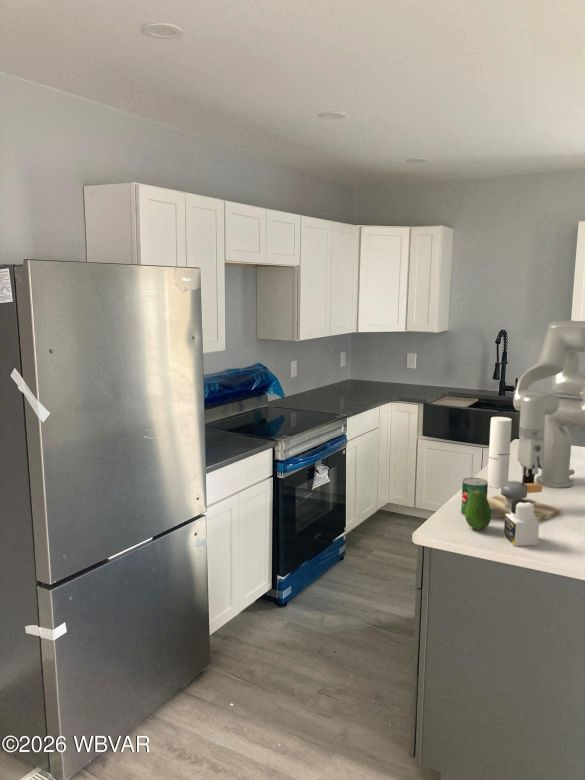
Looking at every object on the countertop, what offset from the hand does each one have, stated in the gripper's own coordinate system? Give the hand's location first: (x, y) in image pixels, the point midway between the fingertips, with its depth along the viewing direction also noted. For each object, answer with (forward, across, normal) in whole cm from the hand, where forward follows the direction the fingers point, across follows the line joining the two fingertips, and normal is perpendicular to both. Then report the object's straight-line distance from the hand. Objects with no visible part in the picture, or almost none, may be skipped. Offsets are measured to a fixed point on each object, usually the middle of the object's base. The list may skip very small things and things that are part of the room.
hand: (527, 486), depth 207 cm
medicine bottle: (+7, -26, +14) cm, 30 cm away
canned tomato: (+7, -4, +20) cm, 21 cm away
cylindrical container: (+7, +23, 0) cm, 24 cm away
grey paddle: (+1, -3, +4) cm, 5 cm away
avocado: (+7, -16, +23) cm, 29 cm away
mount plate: (+7, -2, +4) cm, 9 cm away
